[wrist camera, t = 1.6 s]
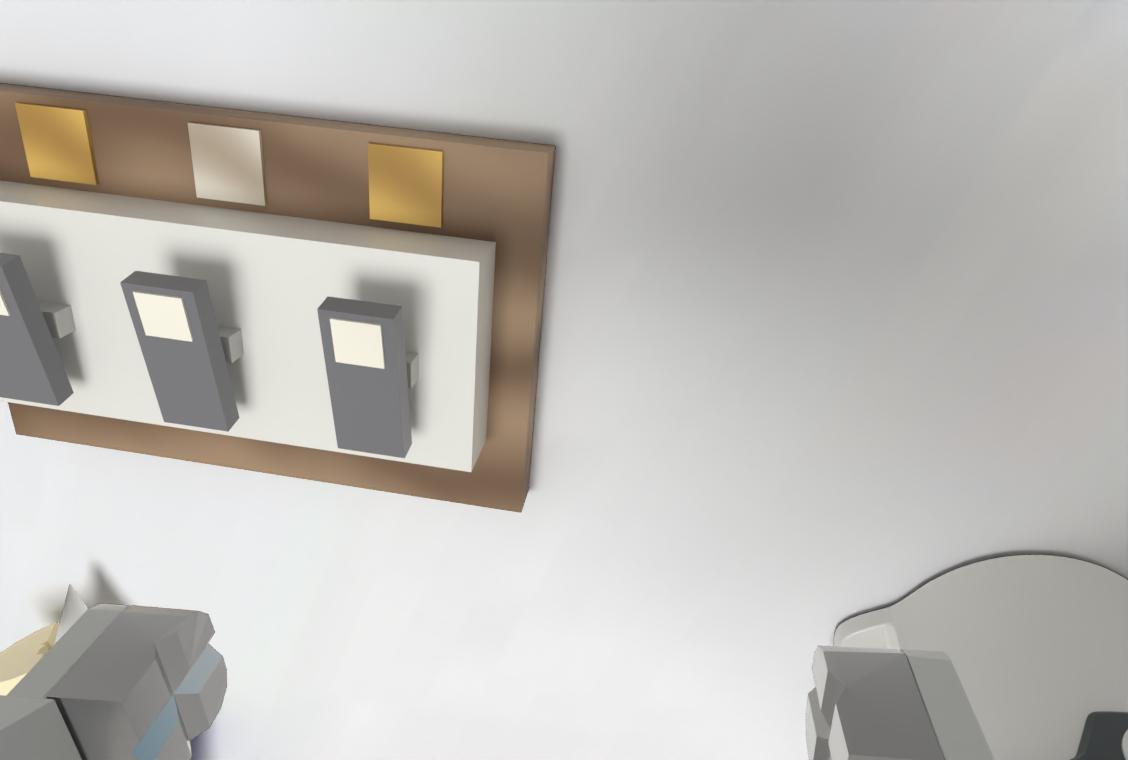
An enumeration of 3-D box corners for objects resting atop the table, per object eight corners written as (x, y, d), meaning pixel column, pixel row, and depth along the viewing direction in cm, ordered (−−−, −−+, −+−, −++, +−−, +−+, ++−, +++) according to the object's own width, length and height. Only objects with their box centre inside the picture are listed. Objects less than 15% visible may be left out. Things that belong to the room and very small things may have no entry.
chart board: (528, 491, 41) (520, 515, 39) (43, 417, 44) (13, 435, 42) (555, 145, 33) (547, 153, 31) (-38, 79, 36) (-80, 82, 34)
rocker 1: (73, 393, 35) (57, 407, 34) (13, 383, 36) (-5, 397, 35) (19, 255, 31) (-1, 267, 30) (-49, 246, 31) (-71, 258, 31)
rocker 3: (412, 443, 34) (404, 459, 33) (346, 433, 34) (336, 449, 33) (401, 306, 30) (392, 320, 29) (327, 296, 30) (315, 310, 29)
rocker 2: (239, 417, 35) (227, 432, 34) (176, 408, 35) (162, 423, 34) (206, 279, 30) (191, 293, 30) (135, 270, 31) (118, 283, 30)
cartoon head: (124, 535, 51) (251, 757, 57) (-34, 600, 48) (118, 824, 55) (100, 600, 43) (250, 849, 50) (-90, 682, 40) (95, 932, 47)
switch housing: (486, 439, 38) (465, 484, 34) (34, 373, 40) (-30, 408, 36) (495, 242, 34) (473, 269, 30) (-12, 178, 36) (-90, 197, 32)
